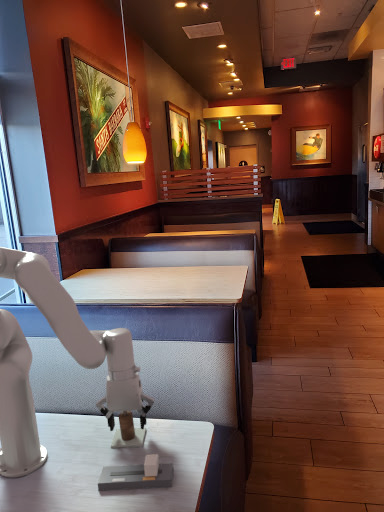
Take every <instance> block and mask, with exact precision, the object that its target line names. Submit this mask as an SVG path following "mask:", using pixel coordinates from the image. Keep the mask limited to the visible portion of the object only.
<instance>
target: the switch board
mask: <svg viewBox="0 0 384 512" xmlns="http://www.w3.org/2000/svg"><path fill="white" fill-rule="evenodd" d="M173 477H174V463H173V462H168V463H167V462H166V463H159V467H158V474H157V476H146V477H145V471H144V464H129V465H128V464H127V465H111V466H110V465H108V466H103V467H102V470H101V472H100V475H99V479H98V481H97V489H98V492H99V491H115V490H116V491H118V490H137V489H138V490H139V489H157V488H172V487H173Z"/></svg>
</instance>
